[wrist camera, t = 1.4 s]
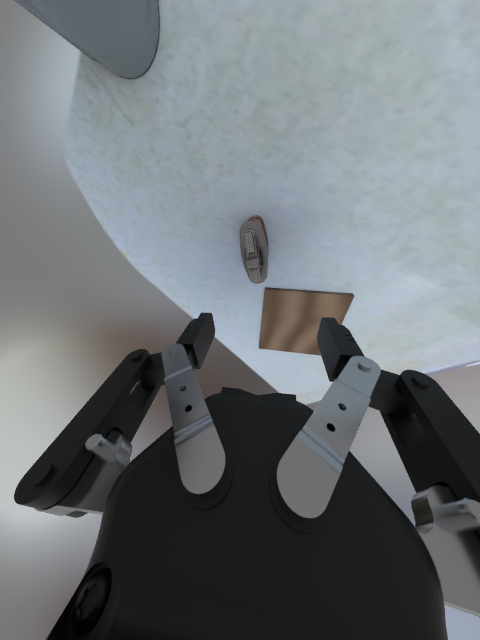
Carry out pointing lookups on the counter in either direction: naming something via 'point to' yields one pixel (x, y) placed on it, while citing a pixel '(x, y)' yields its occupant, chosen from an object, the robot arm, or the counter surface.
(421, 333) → the counter surface
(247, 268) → the lighter
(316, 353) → the board
